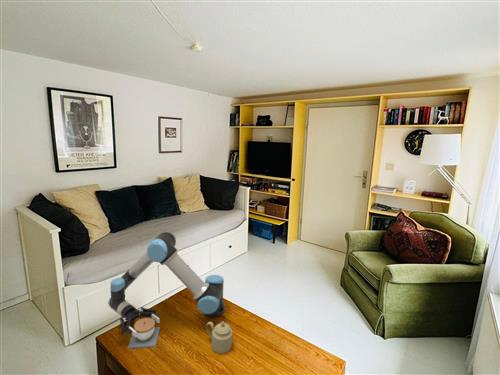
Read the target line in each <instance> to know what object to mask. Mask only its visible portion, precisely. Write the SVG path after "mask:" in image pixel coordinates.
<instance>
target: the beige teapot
mask: <svg viewBox="0 0 500 375" xmlns="http://www.w3.org/2000/svg"><path fill="white" fill-rule="evenodd" d="M205 327H206V328H205V329H206V332H207V334H208V336H209V337H210V339H211V349H212V351H213V352H214V353H217V354H225V353H228V352H230V350H231V349H232V345H233V330H232V328H231V326H230V324H228V323H226V322H225V321H223V320H222V321H221V322H220V323H217V324H216V325H215V324H214V323H213V322H212V321H208V322H207V323H206V325H205ZM210 327H211V329H210Z"/></svg>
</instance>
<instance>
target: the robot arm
mask: <svg viewBox="0 0 500 375" xmlns="http://www.w3.org/2000/svg"><path fill="white" fill-rule="evenodd" d="M176 243H177V240H176V236H175V235H174V234H173V233H171V232H168V231H164V232H161V233H160V234H158V236H157V237H155V238H154V239H153V240H152V241H151V242H150V243H149V244H148V246H147V248H146V252H144V254H143V255H142V256H140V257H139V259H138V260H137V261H136V262H135V263H134V264H133V265H132V266H130V268H129V269H128V270H127V271H126V272H124V273H123V275H122V276H121V277H116V278H114V279H112V280H111V281H110V287H109V289H110V297H109V300H108V301H107V304H108V307H109V308H110V309H112V310H113V311H114V312H115V313H116V314H118V315H119V316H121V317H120V318H119V323H120V325H121V334H129V335H131V336H132V335H133V336H134V337H137V332H136V331H135V330H134V327H131V324H132V321H136V320H137V319H142V318H152V319H153V320H154V321H155V323H157V324H160V321H161V320H160V318H159V317H158V315H157V310H156V309H153V308H152V309H151V308H145V307H143V306H141V307H140V309H137V308H136V306H134V305H132V304H131V303H130V302H129V301H127V300H126V290H127V289H128V288H129V287H130V285H131V284H133V282H134V281H135V280H137V279H138V278H139V277H140V276H141V274H143V272H144V271H146V270H148V268H149V267H150V266H151V265H152V264H153V263H159V264H160V265H162V266H163V265H164V266H166V267H167V268H168V269H169V271H171V272H172V273H173V274H174V275H175V276H176V277H177V279H178V280H180V282H181V283H182V284H183V285H184V286H185V287H186V288H187V289H188V290H189V291H190V292H191V293H192V294H193V300H195V302H197V309H198V310H199V312H200V313H202V315H204V316H206V317H208V318H217V317H220V316H222V315H224V313H225V311H226V303H225V301H224V283H225V281H224V278H223V277H222V276H221V275H219V274H210V275H208V276H206V277H205V279H204V281H203V280H202V279H201V277H200V276H199V275H197V273H196V272H195V271H194V270H193V269H192V268H191V267H190V265H188V263H187V262H185V260H184V259H183V258H182V257H181V256H180V255H179V254H178V249H177V248H176ZM125 321H127V322H126V325H125Z"/></svg>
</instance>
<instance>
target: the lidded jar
mask: <svg viewBox="0 0 500 375" xmlns="http://www.w3.org/2000/svg"><path fill="white" fill-rule="evenodd" d="M155 327H156V321H154V320H153V319H152V317H142V318H139V320H136V321H135V323H134V324H133V329H134V330H135V331H136V332H137V338H138V339H139V340H141V341H145V340H147V339H149V338H150V337H151V336H152V334H153V332H154V329H155Z"/></svg>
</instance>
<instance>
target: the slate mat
mask: <svg viewBox="0 0 500 375" xmlns="http://www.w3.org/2000/svg"><path fill="white" fill-rule="evenodd" d="M160 330H161V326H155V329H154V332H153V334H152V336H151V337H150V338H149V339H147V340H145V341H141V340H139V339H138V338H137V337H134V336H133V335H132V334H131V337H130V340H129V342H128V345H127V349H129V350H130V349H140V348H141V349H142V348H154V347H155V348H156V347H157V344H158V342H157V341H158V339H159V335H160Z"/></svg>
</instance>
